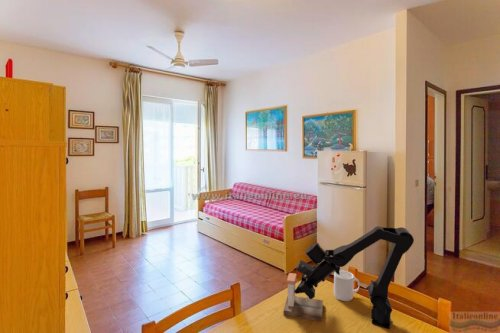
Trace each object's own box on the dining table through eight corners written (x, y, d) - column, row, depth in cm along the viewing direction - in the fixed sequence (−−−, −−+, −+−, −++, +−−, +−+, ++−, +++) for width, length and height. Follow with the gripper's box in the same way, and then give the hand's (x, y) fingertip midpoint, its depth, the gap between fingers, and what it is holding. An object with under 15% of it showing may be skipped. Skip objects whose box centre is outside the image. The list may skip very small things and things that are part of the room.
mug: (363, 301, 127) (364, 278, 126) (337, 302, 127) (338, 279, 126) (355, 290, 136) (355, 269, 135) (331, 292, 135) (331, 270, 134)
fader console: (322, 304, 125) (322, 300, 125) (321, 321, 113) (321, 316, 113) (287, 299, 129) (287, 295, 129) (283, 315, 118) (283, 310, 117)
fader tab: (296, 298, 125) (296, 273, 124) (294, 307, 119) (294, 281, 118) (289, 297, 126) (289, 272, 125) (286, 306, 120) (286, 280, 119)
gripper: (309, 248, 127) (285, 268, 132) (306, 266, 110) (278, 289, 114) (327, 267, 126) (302, 287, 130) (326, 288, 108) (297, 310, 112)
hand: (295, 292), depth 122 cm, fingers closed
